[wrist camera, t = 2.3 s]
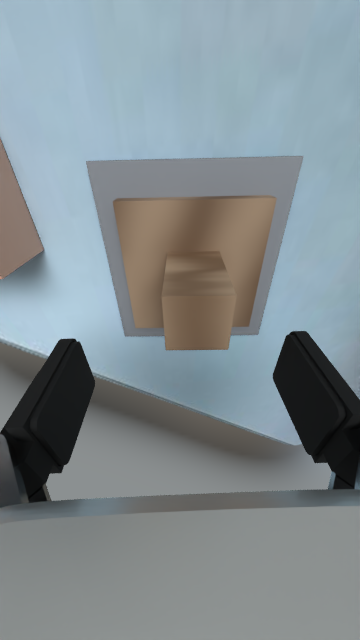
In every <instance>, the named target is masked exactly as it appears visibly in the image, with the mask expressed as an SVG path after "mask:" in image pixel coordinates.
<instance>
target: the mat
mask: <svg viewBox="0 0 360 640" xmlns="http://www.w3.org/2000/svg"><path fill="white" fill-rule="evenodd" d="M302 160H303V156H281V157H239V158H197V159H155V160H113V161H86V164H87V168H88V173H89V177H90V182H91V186H92V191H93V195H94V200H95V204H96V209H97V213H98V218H99V222H100V226H101V231H102V235H103V240H104V244H105V249H106V253H107V258H108V262H109V267H110V271H111V275H112V280H113V284H114V289H115V293H116V298H117V302H118V307H119V311H120V316H121V320H122V325H123V329H124V333H125V336H165V334H164V328H135V323H134V317H133V312H132V306H131V301H130V295H129V290H128V284H127V279H126V273H125V267H124V262H123V256H122V251H121V245H120V240H119V234H118V229H117V223H116V218H115V212H114V207H113V201H114V200H115V199H117V198H157V197H204V196H251V195H271V196H273V197H276V198H277V200H276V204H275V209H274V214H273V218H272V223H271V228H270V232H269V237H268V241H267V246H266V251H265V255H264V260H263V264H262V269H261V274H260V278H259V283H258V287H257V292H256V297H255V301H254V306H253V311H252V315H251V320H250V324H249V327H232V328H231V335H258V333H259V329H260V325H261V321H262V317H263V313H264V309H265V305H266V301H267V297H268V293H269V290H270V286H271V282H272V278H273V274H274V270H275V266H276V262H277V258H278V254H279V250H280V246H281V243H282V239H283V235H284V231H285V227H286V223H287V219H288V215H289V211H290V207H291V203H292V199H293V196H294V192H295V188H296V184H297V180H298V176H299V172H300V168H301V164H302Z"/></svg>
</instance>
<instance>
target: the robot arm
mask: <svg viewBox="0 0 360 640" xmlns="http://www.w3.org/2000/svg"><path fill="white" fill-rule="evenodd" d="M273 380H274V383H275V385H276V387H277V389H278V391H279V394H280V396H281V398H282V400H283V402H284V405H285V407H286V409H287V411H288V413H289V416H290V418H291V420H292V422H293V424H294V426H295V429H296V431H297V433H298V435H299V437H300V440H301V442H302V444H303V446H304V448H305V450H306V452H307V453H308V454H309V455H311V456H312V458H313V460H314V462H315V463H328V465H329V466H330V468H331V470H332V472H331V477H330V482H329V486H328V490H290V491H263V492H235V493H211V494H186V495H163V496H139V497H118V498H95V499H77V500H61V501H51V498H50V495H49V492H48V489H47V486H46V482H47V479H48V476H49V474H50V473H61V472H62V470H63V467H64V465H66V464H67V463H68V462H69V460H70V457H71V454H72V451H73V449H74V446H75V443H76V440H77V437H78V434H79V431H80V428H81V425H82V422H83V419H84V416H85V413H86V411H87V407H88V405H89V402H90V399H91V396H92V393H93V390H94V387H95V380H94V377H93V375H92V372H91V369H90V367H89V364H88V362H87V359H86V356H85V354H84V351H83V348H82V346H81V343H80V342H77V341H76V340H75V339H60V340H59V341H58V343H57V345H56V346H55V348H54V349H53V351H52V353H51V354H50V356H49V357H48V359H47V361H46V362H45V364H44V365H43V367H42V369H41V370H40V371H39V373H38V374H37V375H36V377H35V378H34V380H33V381H32V383H31V385H30V386H29V388H28V389H27V391H26V393H25V394H24V396H23V397H22V399H21V401H20V402H19V404H18V405H17V407H16V408H15V410H14V412H13V413H12V415H11V416H10V418H9V420H8V421H7V423H6V424H5V426H4V428H3V429H2V431H1V432H0V640H360V400H359V398H358V397H357V396H356V394H355V393H354V392H353V391H352V389H351V388H350V387H349V385H348V384H347V383H346V382H345V380H344V379H343V378H342V376H341V375H340V374H339V373H338V371H337V370H336V369H335V367H334V366H333V365H332V364H331V362H330V361H329V360H328V358H327V357H326V356H325V355H324V353H323V352H322V351H321V349H320V348H319V347H318V346H317V344H316V343H315V342H314V340H313V339H312V338H311V337H310V335H309V334H308V333H307V332H306V331H293V332H291V333H290V334H289V335H287V336H286V338H285V341H284V344H283V347H282V349H281V352H280V355H279V358H278V361H277V364H276V367H275V370H274V373H273Z"/></svg>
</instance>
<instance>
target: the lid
mask: <svg viewBox="0 0 360 640" xmlns="http://www.w3.org/2000/svg"><path fill="white" fill-rule="evenodd" d="M276 200H277V198H276V197H273V196H271V195H251V196H204V197H157V198H117V199H115V200H114V201H113V207H114V212H115V218H116V223H117V229H118V234H119V240H120V245H121V251H122V256H123V262H124V267H125V273H126V279H127V284H128V290H129V295H130V301H131V306H132V312H133V317H134V323H135V328H164V334H165V346H166V350H227V349H228V348H229V341H230V335H231V328H232V327H249V324H250V320H251V315H252V311H253V306H254V301H255V297H256V292H257V287H258V283H259V278H260V274H261V269H262V264H263V260H264V255H265V251H266V246H267V241H268V237H269V232H270V228H271V223H272V218H273V214H274V209H275V204H276Z"/></svg>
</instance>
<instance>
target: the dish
mask: <svg viewBox="0 0 360 640" xmlns="http://www.w3.org/2000/svg"><path fill="white" fill-rule="evenodd" d="M43 250H44V248H43V246H42V243H41V240H40V238H39V235H38V233H37V230H36V228H35V225H34V223H33V220H32V218H31V215H30V213H29V210H28V208H27V205H26V202H25V200H24V197H23V195H22V192H21V190H20V187H19V185H18V182H17V180H16V177H15V175H14V172H13V169H12V167H11V164H10V162H9V159H8V157H7V154H6V152H5V149H4V147H3V144H2V142H1V139H0V279H3V278H5V277H6V276H8V275H9V274H11V273H12V272H13V271H15V270H16V269H18V268H19V267H20V266H22V265H23V264H25V263H26V262H28V261H29V260H30V259H32V258H33V257H35V256H36V255H37V254H39V253H40V252H42V251H43Z"/></svg>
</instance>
